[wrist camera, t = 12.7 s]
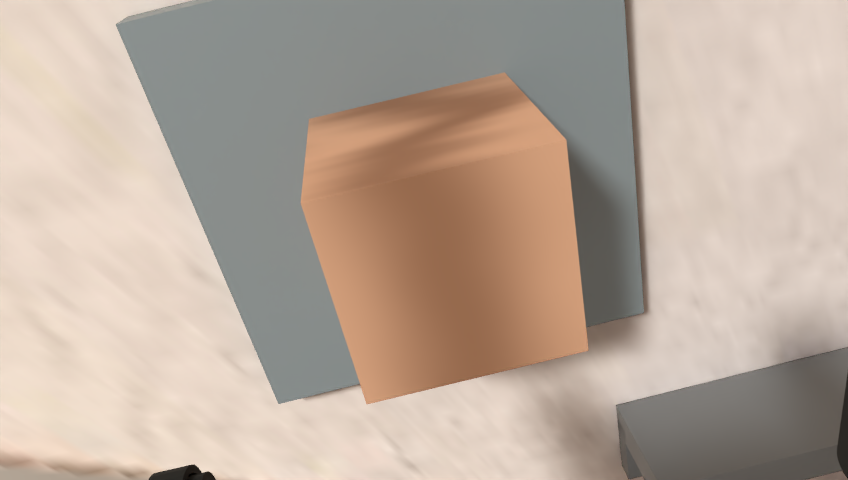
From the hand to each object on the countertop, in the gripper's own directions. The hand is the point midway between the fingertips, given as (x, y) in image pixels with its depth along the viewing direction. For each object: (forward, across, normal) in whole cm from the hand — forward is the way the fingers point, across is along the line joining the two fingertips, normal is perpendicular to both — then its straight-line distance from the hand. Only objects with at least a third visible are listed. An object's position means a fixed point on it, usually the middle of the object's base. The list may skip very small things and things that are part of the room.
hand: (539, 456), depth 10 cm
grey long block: (+14, -12, +16) cm, 24 cm away
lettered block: (+13, +1, +1) cm, 13 cm away
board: (+14, +1, +1) cm, 14 cm away
